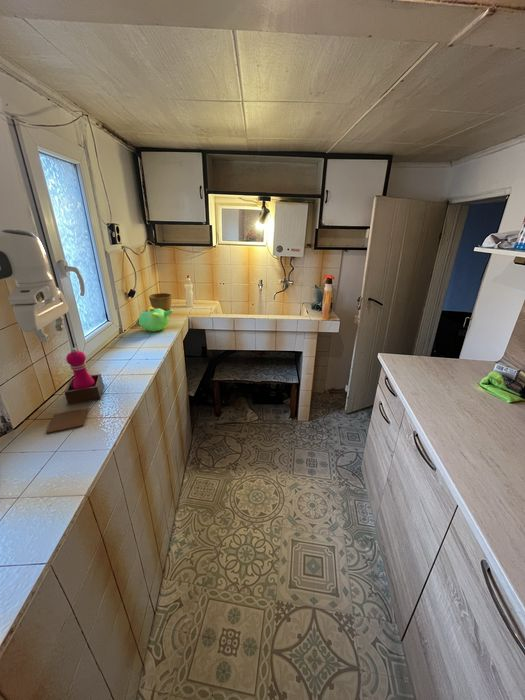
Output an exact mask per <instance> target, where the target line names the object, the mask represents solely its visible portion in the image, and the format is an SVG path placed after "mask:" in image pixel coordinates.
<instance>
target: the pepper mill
mask: <svg viewBox="0 0 525 700" xmlns="http://www.w3.org/2000/svg"><path fill="white" fill-rule="evenodd" d="M65 359H66V363H67V364H68V365H69V367H70V370H72V372H73V378H74V381H73V389H74V390H76V389H82V388H88V387H94V386H95V381H94V379H93V378H92V377H91V375H90V374H89V372H88V371H87V362H86V359H87V357H86V355H85V353H84V352H82V350H77V348H76V347H72V348H71V349H70V352H68V353H67V354H66V358H65Z"/></svg>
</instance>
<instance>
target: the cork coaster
mask: <svg viewBox="0 0 525 700" xmlns="http://www.w3.org/2000/svg"><path fill="white" fill-rule="evenodd" d="M88 411H89V408H88V407H86V408H85V407H84V408H81V409H76V410H71V411H65V412H61V413H60V412H59V413H55V414H54V416H53V418H52V420H51V422H50V424H49V427H48V429H47V431H46V433H47V435H48V434H51V433H56V432H62V431H66V430H71V429H76V428H80V427H84V424H85V421H86V418H87V414H88Z"/></svg>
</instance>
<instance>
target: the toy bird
mask: <svg viewBox="0 0 525 700" xmlns="http://www.w3.org/2000/svg"><path fill="white" fill-rule="evenodd" d="M173 312H174V310H173V309H170V310H169V311H164V310H163V309H160V308H153V307H152V305H150V306H149V305H148V308H146V309H145V310H143V311H142V312H140V314H139V317H138V323H139V326H140V327H141V328H142V329H143V330H144V331H146V332H158V331H162V330H163V329H165V327H167V325H168V324H169V320H170V315H171V314H172V313H173ZM168 315H169V317H168Z"/></svg>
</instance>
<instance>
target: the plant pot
mask: <svg viewBox="0 0 525 700" xmlns="http://www.w3.org/2000/svg"><path fill="white" fill-rule="evenodd" d="M148 298H149V299H148V300H149V302H150V306H151V307H153V308H160V309H163V310H164V311H169V310H172V309H171V308H172V299H173V298H172V294H171V293H168V292H157V293H152V294H149V295H148ZM168 317H169V318H170V315H168Z"/></svg>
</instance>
